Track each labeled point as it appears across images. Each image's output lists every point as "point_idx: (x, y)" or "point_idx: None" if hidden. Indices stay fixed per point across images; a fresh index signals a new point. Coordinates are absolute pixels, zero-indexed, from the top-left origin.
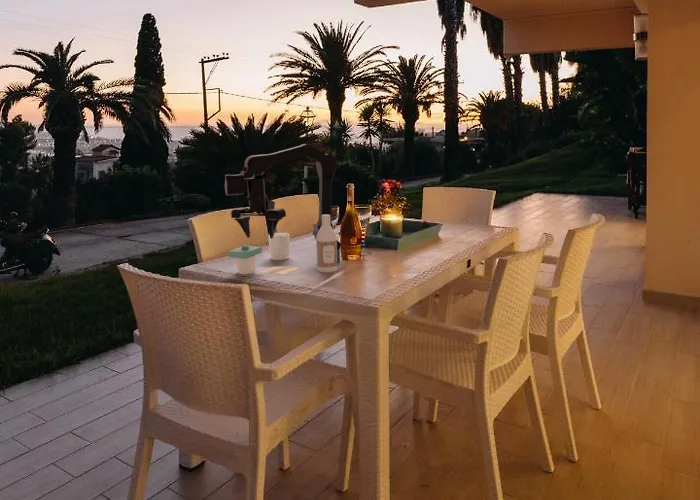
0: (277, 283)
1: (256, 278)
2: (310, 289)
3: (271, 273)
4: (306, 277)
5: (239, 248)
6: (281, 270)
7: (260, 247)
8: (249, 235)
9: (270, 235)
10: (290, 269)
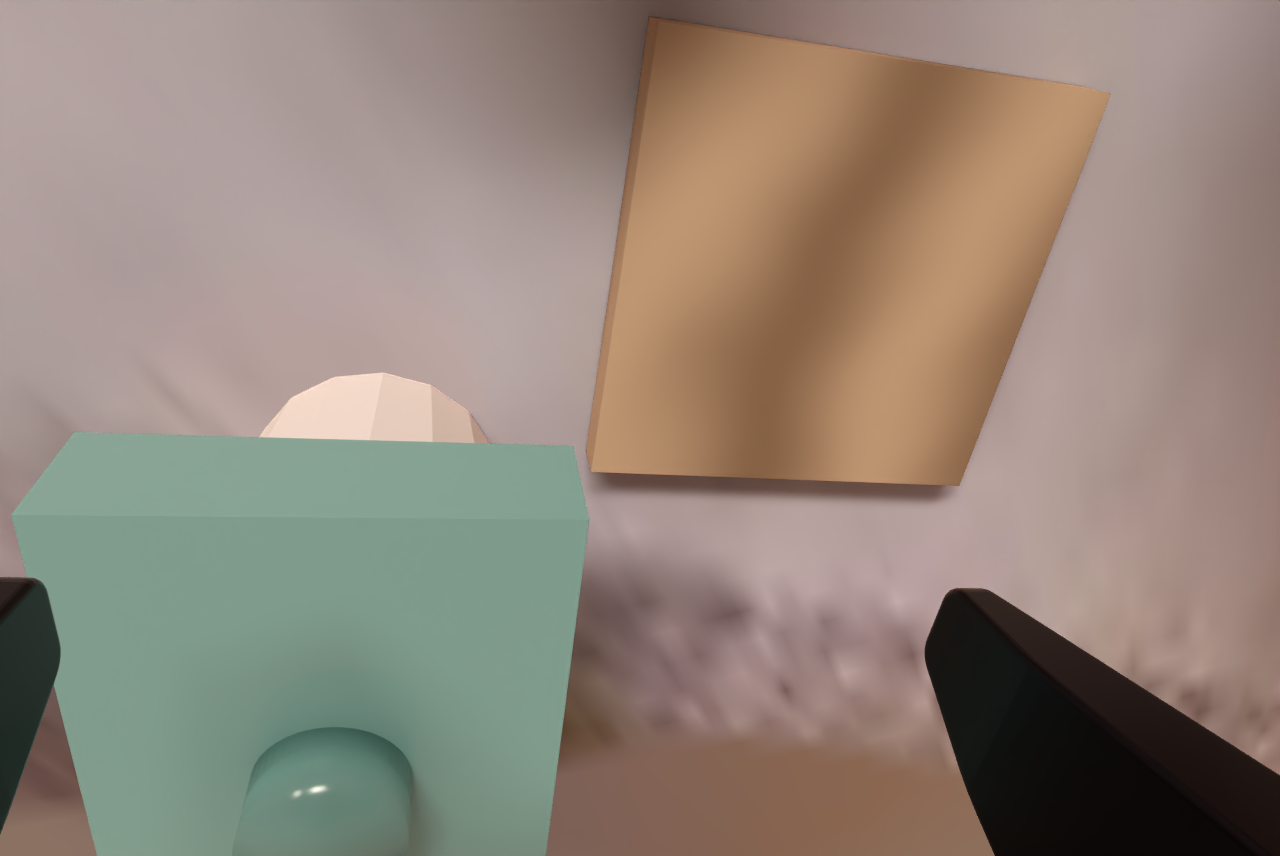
0: (892, 662)
1: (601, 580)
2: (1197, 713)
3: (758, 475)
4: (1168, 394)
5: (156, 777)
6: (852, 308)
7: (581, 565)
8: (14, 639)
9: (987, 766)
10: (973, 223)
